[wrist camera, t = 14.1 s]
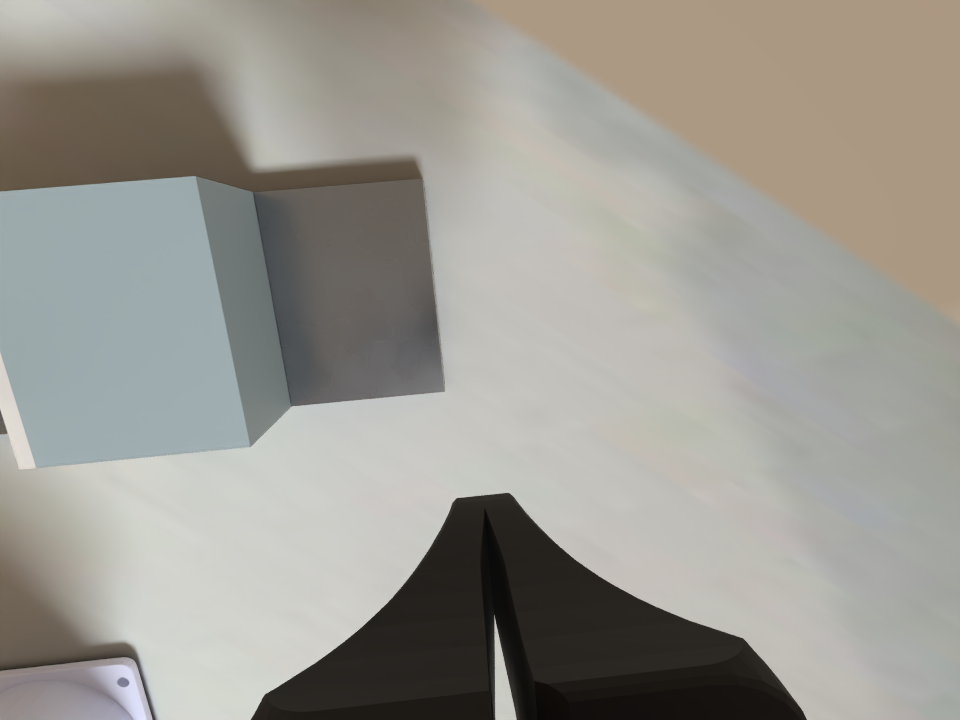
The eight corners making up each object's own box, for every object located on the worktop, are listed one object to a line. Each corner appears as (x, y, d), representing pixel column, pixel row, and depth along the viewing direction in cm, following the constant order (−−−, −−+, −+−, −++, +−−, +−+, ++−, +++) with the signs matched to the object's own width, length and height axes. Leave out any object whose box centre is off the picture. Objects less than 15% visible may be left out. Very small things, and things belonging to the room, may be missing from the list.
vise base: (444, 386, 20) (442, 427, 16) (-96, 437, 20) (-269, 497, 15) (423, 181, 18) (413, 158, 14) (-174, 229, 18) (-398, 223, 13)
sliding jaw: (291, 406, 19) (250, 447, 15) (108, 424, 19) (19, 469, 15) (252, 192, 17) (195, 176, 14) (49, 208, 17) (-69, 196, 13)
